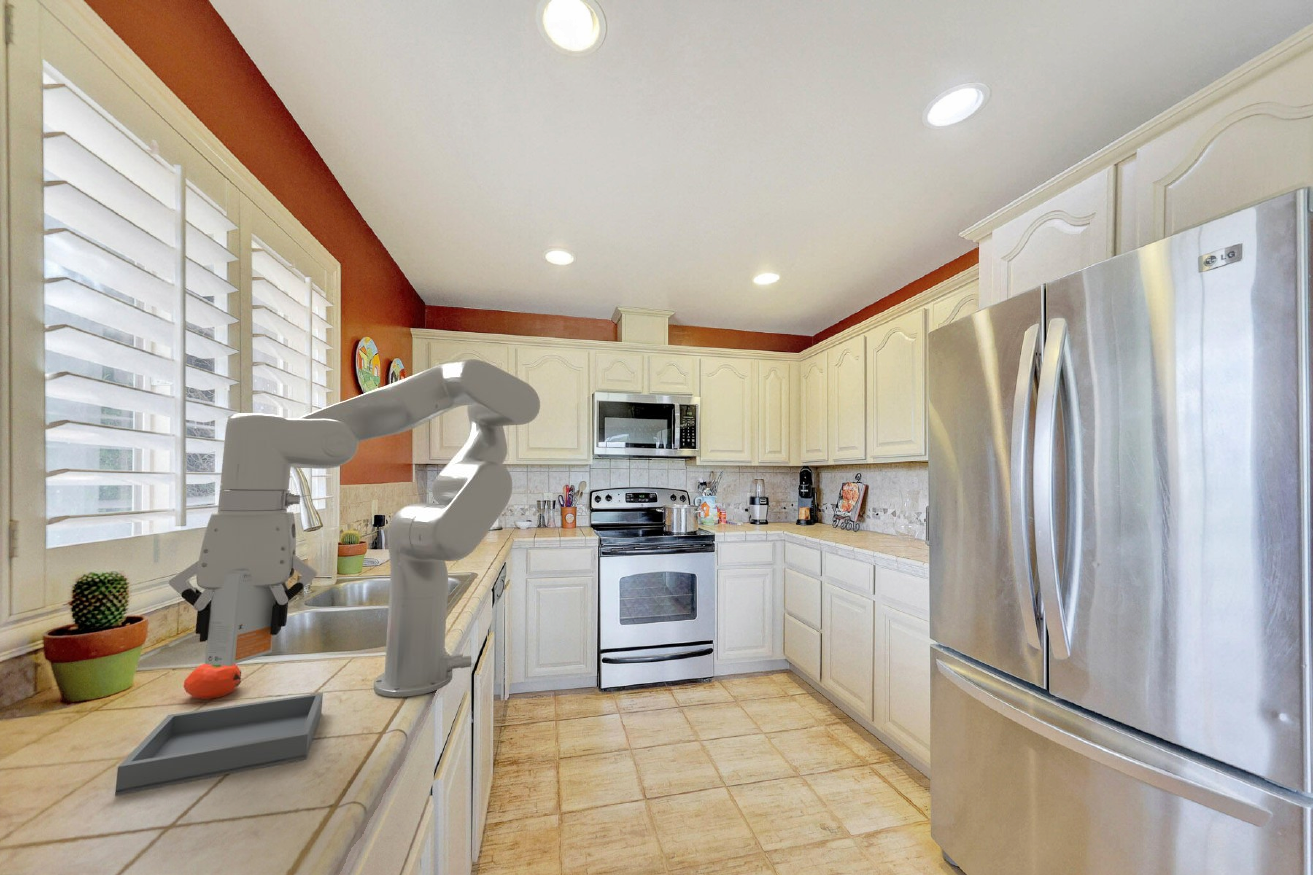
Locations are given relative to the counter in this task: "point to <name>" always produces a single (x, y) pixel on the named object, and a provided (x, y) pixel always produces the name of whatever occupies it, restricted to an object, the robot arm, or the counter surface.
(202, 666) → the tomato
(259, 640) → the skincare box
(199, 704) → the counter surface
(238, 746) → the tray
